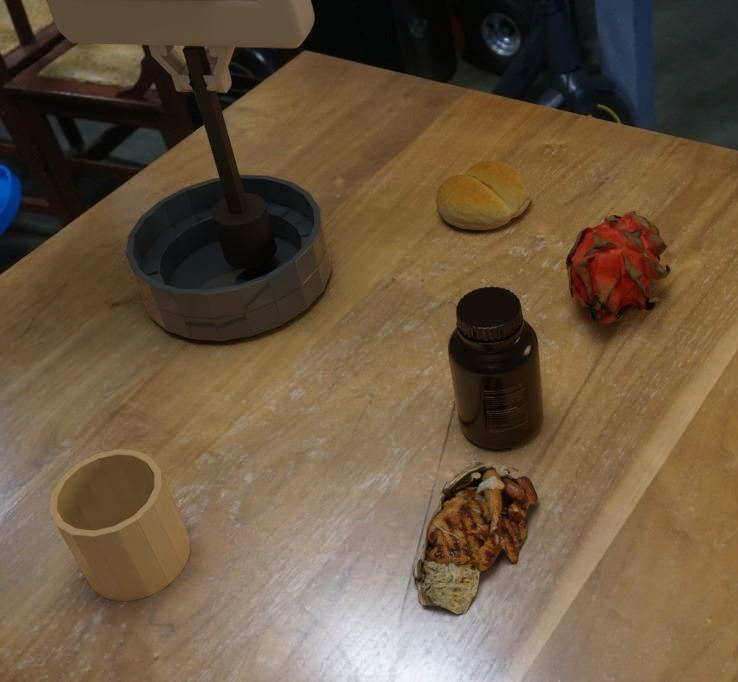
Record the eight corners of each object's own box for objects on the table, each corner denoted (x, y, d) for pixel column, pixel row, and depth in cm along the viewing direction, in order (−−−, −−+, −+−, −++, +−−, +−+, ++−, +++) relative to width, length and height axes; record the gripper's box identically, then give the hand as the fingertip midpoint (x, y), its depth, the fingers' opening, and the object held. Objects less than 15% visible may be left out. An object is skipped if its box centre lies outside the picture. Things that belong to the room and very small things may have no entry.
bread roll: (422, 209, 109) (417, 175, 106) (494, 172, 112) (491, 139, 110) (473, 247, 104) (469, 213, 101) (545, 207, 108) (544, 174, 105)
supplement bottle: (555, 398, 89) (549, 285, 81) (527, 460, 84) (518, 347, 76) (476, 381, 91) (462, 269, 83) (445, 441, 86) (427, 329, 78)
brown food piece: (398, 602, 76) (391, 571, 73) (456, 471, 84) (451, 440, 81) (495, 625, 74) (491, 595, 71) (544, 489, 82) (542, 457, 80)
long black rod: (217, 267, 100) (152, 60, 86) (234, 235, 104) (175, 30, 89) (267, 270, 100) (211, 61, 85) (283, 237, 103) (231, 31, 89)
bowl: (116, 339, 97) (94, 288, 93) (185, 221, 110) (168, 171, 106) (302, 351, 95) (288, 298, 91) (352, 228, 107) (341, 177, 103)
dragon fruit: (647, 268, 102) (605, 366, 96) (573, 216, 101) (526, 312, 94) (701, 226, 95) (660, 329, 89) (623, 170, 94) (575, 270, 87)
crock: (71, 599, 78) (30, 530, 72) (113, 515, 83) (78, 445, 77) (169, 609, 76) (135, 540, 71) (206, 523, 82) (177, 453, 76)
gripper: (306, -95, 81) (337, 72, 91) (49, -96, 84) (105, 66, 94) (280, -59, 77) (316, 113, 86) (10, -61, 80) (73, 105, 89)
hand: (204, 89), depth 90 cm, fingers closed on long black rod
